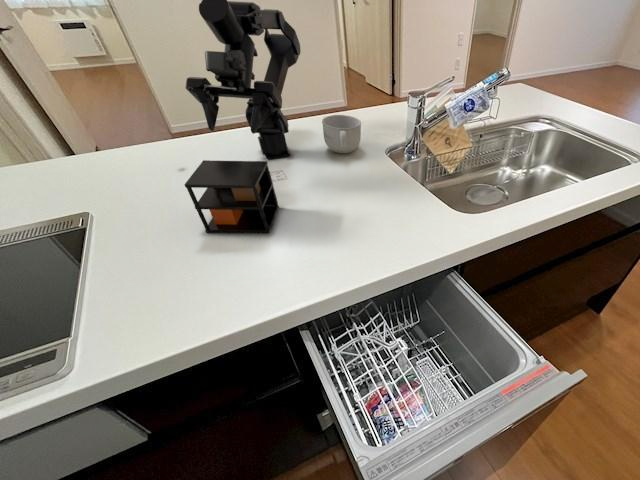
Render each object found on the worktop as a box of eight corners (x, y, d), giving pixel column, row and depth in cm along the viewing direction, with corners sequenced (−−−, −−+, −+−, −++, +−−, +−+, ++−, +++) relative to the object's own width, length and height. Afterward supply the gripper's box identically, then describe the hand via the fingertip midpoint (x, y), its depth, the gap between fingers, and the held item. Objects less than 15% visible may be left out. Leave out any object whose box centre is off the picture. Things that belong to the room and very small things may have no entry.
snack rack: (221, 207, 79) (203, 160, 71) (279, 207, 80) (267, 161, 72) (206, 233, 72) (184, 184, 64) (269, 233, 73) (255, 185, 65)
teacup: (328, 140, 105) (325, 112, 100) (364, 142, 106) (362, 114, 100) (320, 161, 96) (316, 131, 90) (359, 163, 96) (357, 133, 90)
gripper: (171, 28, 67) (163, 106, 67) (265, 33, 67) (258, 112, 66) (204, 69, 78) (198, 136, 78) (285, 73, 78) (279, 141, 77)
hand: (231, 131), depth 75 cm, fingers open, 9 cm apart
